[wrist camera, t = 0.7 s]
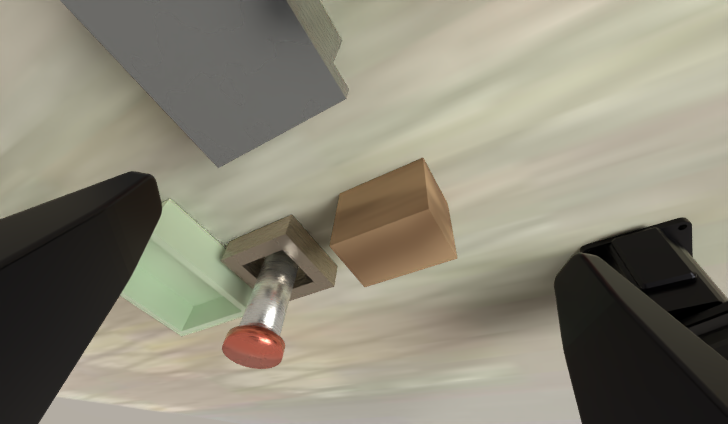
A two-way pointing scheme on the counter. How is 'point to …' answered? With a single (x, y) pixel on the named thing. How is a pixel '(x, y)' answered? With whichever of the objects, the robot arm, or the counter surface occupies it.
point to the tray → (185, 277)
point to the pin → (264, 316)
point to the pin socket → (295, 242)
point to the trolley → (224, 63)
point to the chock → (393, 225)
